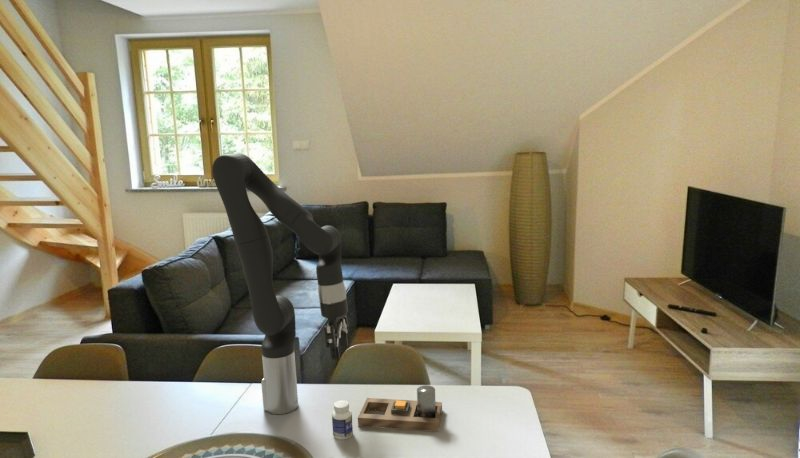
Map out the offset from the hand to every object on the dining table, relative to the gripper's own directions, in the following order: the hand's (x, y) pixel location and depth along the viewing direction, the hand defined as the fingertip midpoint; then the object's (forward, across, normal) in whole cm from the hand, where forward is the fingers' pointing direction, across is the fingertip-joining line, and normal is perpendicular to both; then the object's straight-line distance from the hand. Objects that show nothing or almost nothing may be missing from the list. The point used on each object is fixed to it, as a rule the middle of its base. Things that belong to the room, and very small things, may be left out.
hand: (340, 352), depth 152 cm
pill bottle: (+18, +12, +2) cm, 22 cm away
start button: (+16, +2, +16) cm, 23 cm away
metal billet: (+20, +2, +23) cm, 30 cm away
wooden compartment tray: (+19, +2, +16) cm, 25 cm away
